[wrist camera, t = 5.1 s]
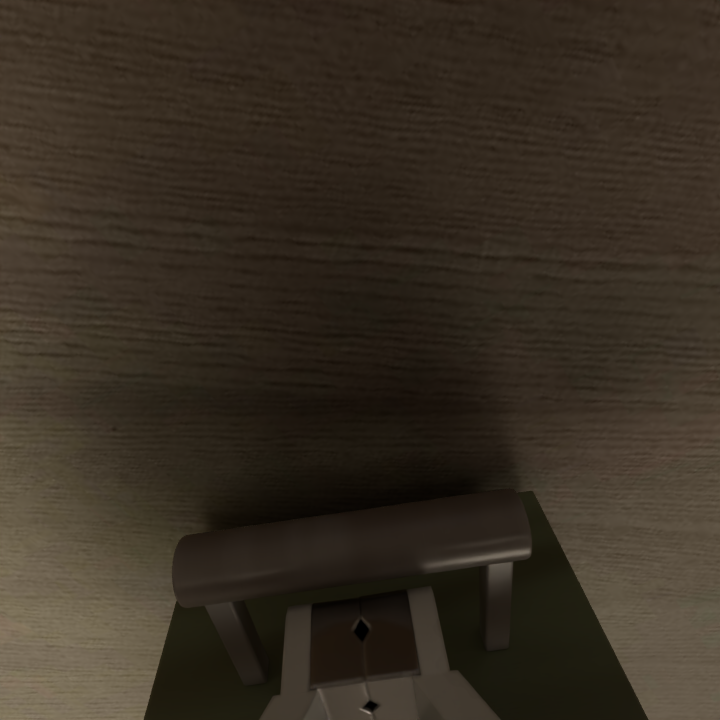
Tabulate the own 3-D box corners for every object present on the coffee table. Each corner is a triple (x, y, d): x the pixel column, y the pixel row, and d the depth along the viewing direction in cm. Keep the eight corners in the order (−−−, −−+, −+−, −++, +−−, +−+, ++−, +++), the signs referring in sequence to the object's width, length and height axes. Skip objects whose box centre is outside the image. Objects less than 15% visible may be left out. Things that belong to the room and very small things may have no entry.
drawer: (139, 423, 14) (-18, 722, 7) (542, 363, 14) (733, 615, 7) (279, 726, 23) (263, 970, 17) (517, 692, 23) (591, 925, 17)
